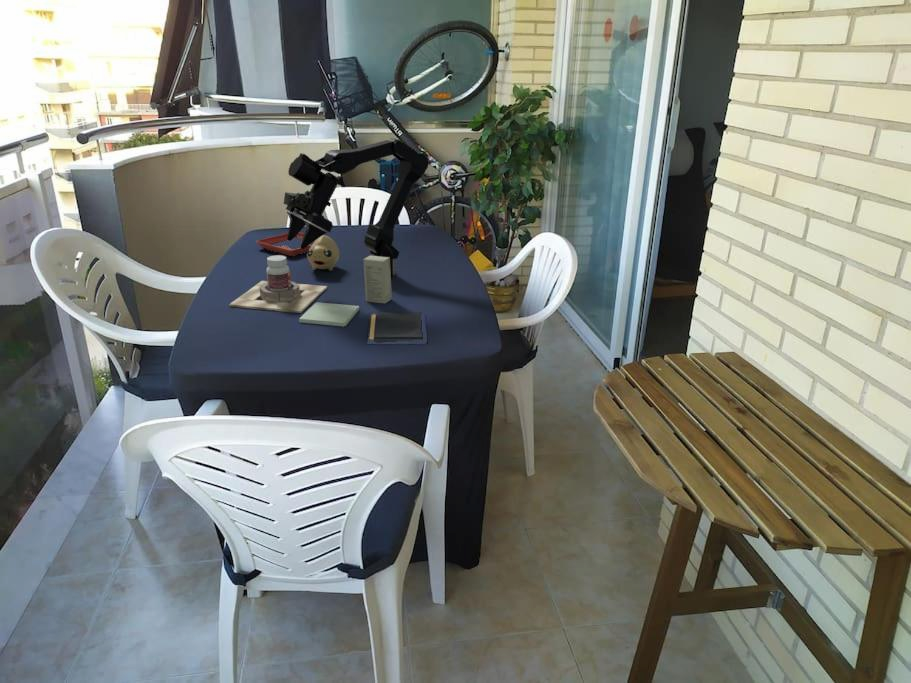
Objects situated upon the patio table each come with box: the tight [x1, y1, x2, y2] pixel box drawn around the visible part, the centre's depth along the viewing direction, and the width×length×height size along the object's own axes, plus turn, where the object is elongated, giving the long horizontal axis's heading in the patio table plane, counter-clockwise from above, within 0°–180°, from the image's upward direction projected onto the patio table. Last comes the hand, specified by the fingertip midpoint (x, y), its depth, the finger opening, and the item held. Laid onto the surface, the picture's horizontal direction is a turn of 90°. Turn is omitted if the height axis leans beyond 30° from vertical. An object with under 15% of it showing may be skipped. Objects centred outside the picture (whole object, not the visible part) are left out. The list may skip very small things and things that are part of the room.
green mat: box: [298, 301, 360, 327], centre depth 168 cm, size 12×12×1 cm
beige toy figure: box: [306, 234, 340, 271], centre depth 200 cm, size 10×12×11 cm
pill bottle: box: [265, 254, 292, 292], centre depth 177 cm, size 6×6×11 cm
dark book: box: [367, 311, 423, 343], centre depth 162 cm, size 20×2×15 cm
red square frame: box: [255, 231, 315, 257], centre depth 223 cm, size 18×18×3 cm
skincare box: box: [362, 254, 393, 304], centre depth 177 cm, size 6×4×12 cm
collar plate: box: [228, 280, 328, 314], centre depth 179 cm, size 20×20×3 cm
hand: (295, 244), depth 178 cm, fingers open, 9 cm apart
